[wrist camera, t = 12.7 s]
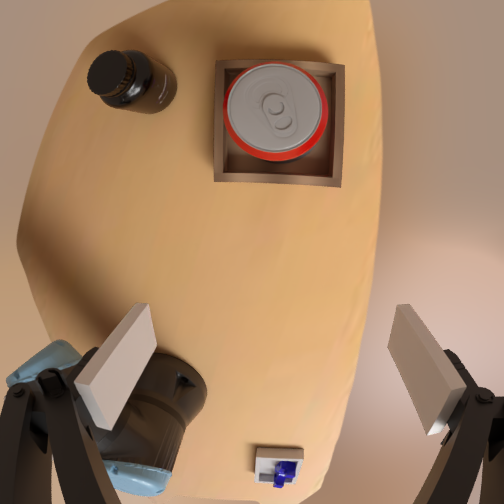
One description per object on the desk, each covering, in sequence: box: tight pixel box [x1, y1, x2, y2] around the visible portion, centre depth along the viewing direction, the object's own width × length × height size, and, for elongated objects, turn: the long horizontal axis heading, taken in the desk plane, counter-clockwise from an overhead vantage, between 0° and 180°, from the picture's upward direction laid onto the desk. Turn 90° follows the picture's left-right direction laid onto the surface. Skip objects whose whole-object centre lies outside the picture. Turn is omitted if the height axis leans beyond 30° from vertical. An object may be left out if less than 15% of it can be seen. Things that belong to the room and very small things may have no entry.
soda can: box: [223, 61, 328, 161], centre depth 26 cm, size 8×8×15 cm
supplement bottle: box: [87, 50, 177, 114], centre depth 28 cm, size 7×7×12 cm
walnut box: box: [214, 59, 345, 188], centre depth 32 cm, size 14×14×4 cm
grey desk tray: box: [254, 447, 304, 484], centre depth 56 cm, size 10×14×3 cm
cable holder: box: [273, 461, 296, 488], centre depth 55 cm, size 8×4×4 cm, turn 161°
